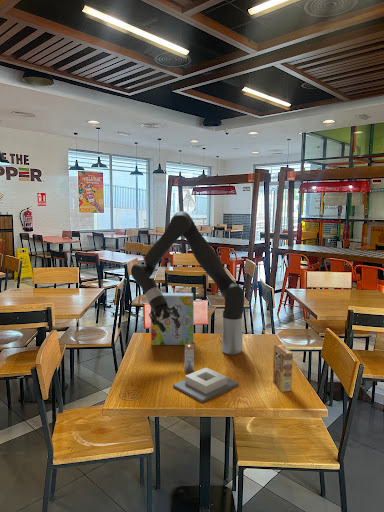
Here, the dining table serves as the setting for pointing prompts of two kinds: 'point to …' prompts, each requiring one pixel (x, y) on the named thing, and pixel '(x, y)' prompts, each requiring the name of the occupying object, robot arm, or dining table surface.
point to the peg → (189, 357)
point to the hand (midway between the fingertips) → (171, 329)
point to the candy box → (282, 368)
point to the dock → (201, 395)
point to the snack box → (186, 320)
